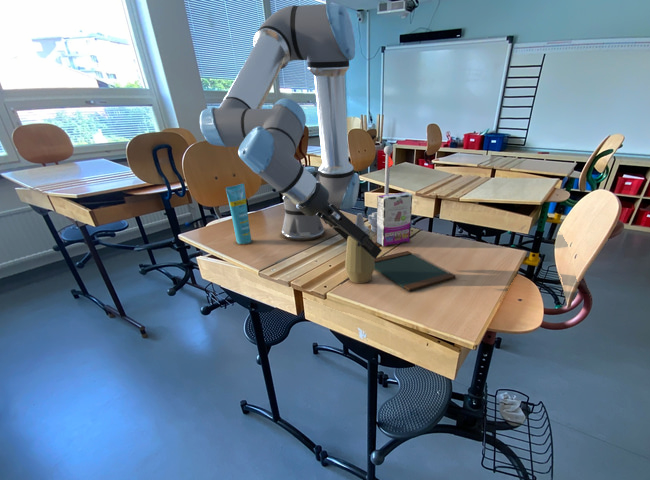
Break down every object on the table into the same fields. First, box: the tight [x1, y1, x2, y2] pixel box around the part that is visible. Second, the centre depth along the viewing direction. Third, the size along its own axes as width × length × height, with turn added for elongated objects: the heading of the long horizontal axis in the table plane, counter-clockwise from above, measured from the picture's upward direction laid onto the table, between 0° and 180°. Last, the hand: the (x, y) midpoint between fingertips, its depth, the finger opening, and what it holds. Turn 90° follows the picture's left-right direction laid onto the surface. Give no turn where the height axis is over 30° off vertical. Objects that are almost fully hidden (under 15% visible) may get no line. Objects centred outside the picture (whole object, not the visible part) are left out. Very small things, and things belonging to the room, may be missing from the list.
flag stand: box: [368, 145, 394, 234], centre depth 125 cm, size 13×13×30 cm
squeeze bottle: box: [344, 212, 375, 284], centre depth 88 cm, size 8×8×18 cm
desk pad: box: [374, 250, 456, 293], centre depth 98 cm, size 22×16×1 cm
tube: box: [225, 182, 252, 245], centre depth 113 cm, size 7×5×19 cm, turn 157°
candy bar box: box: [376, 192, 413, 248], centre depth 115 cm, size 11×5×16 cm, turn 118°
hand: (364, 245), depth 89 cm, fingers open, 13 cm apart
